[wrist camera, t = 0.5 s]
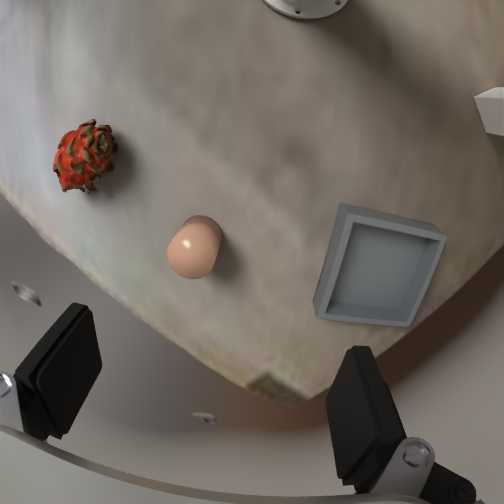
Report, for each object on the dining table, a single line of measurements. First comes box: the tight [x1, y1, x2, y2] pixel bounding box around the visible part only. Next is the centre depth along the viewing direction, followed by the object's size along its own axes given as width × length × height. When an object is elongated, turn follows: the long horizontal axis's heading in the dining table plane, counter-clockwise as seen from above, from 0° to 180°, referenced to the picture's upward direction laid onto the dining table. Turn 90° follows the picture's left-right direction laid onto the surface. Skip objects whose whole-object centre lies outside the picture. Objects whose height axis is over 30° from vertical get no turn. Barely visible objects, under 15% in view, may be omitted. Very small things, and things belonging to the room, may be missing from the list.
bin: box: [313, 203, 448, 327], centre depth 42 cm, size 16×16×4 cm
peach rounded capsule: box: [167, 215, 222, 279], centre depth 40 cm, size 6×6×7 cm
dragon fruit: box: [53, 119, 118, 194], centre depth 35 cm, size 8×8×12 cm
